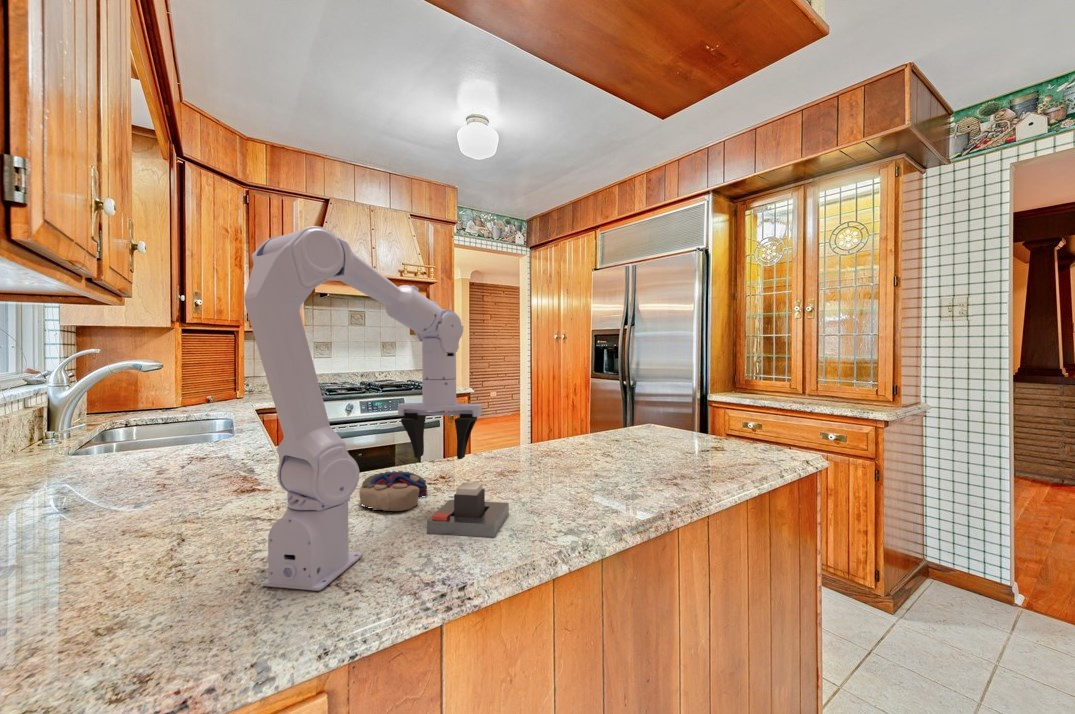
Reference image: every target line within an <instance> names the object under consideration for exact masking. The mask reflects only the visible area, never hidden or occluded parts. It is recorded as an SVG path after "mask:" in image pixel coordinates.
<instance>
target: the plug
mask: <svg viewBox="0 0 1075 714" xmlns="http://www.w3.org/2000/svg"><path fill="white" fill-rule="evenodd" d="M455 490H456V492H455V494H453V500H454V517H470V518H481V517H482V516H483V515H484V514H485V502H486V500H485V499H486V498H485V494H486V491H485V490H486V489H485V488H483V483H479V482H464V481H463V482H462V483H461V484H460V485H458V487H456V489H455Z"/></svg>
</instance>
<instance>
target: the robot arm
mask: <svg viewBox="0 0 1075 714" xmlns="http://www.w3.org/2000/svg"><path fill="white" fill-rule="evenodd" d="M251 261H252V263H253V266H252V269H251V273H250V275H249V279H248V282H247V285H246V286H247V287H246V290H245V294H244V306H245V309H246V312H247V314H248V315H247V316H248V319H249V322H250V326H251V328H252V329H251V330H252V332H253V336H254V340H255V342H256V343H255V344H256V346H257V350H258V352H259V356H260V360H261V364H262V367H263V370H264V373H265V376H266V380H267V383H268V387H269V390H270V393H271V394H270V395H271V398H272V401H273V405H274V407H275V410H276V411H275V412H276V414H277V418H278V422H279V424H280V427H281V431H282V435H283V439H282V440H281V442H280V443H279V444H278V446H277V448H276V451H277V454H278V467H277V472H276V477H277V482H278V484H279V485H280V487H281V488H282V489H283V490H284V491H286V493H287V494H286V496H287V498H286V499H287V506H286V507H287V508H286V510H285V512H284V514H283V515H282V516H281V517H280V518H279V519H278V520H277V521H276V522H275V523H274V524H273V525H272V527H271V528H270V530H269V533H268V538H267V551H268V552H267V556H268V557H267V559H268V562H267V563H268V565H267V566H268V570H267V571H268V577H267V578H266V579H264V580H263V581H262V586H263V587H269V588H271V587H273V588H285V589H294V590H306V591H315V592H316V591H318V592H319V591H322V590H323V589H324V588H325V587H327V586H328V585H329V584H330V583H332V582H333V580H335V579H336V578H337V577H338V576H340V575H341V574H343V573H344V572H345V571H346V570H347V569H348V568H349V567H351V566H352V565H353V564H354V563H356V562H357V561H358V560H359V559H361V558H362V557H363V553H362V552H359V551H349V545H350V544H349V539H350V538H349V502H350V501H351V496H352V495H353V493H354V492H355V490H356V488H357V486H358V484H359V480H360V468H359V465H358V462H357V461H356V460H355V458H354V457H352V456H351V455H350V453H349V451H348V450H347V449H348V448H347V445H346V443H345V441H344V440H343V439H342V437H341V436H340V435H338V433H337V432H336V431H335V430H334V429H333V428H332V427H331V425H330V420H329V419H328V418H329V416H328V413H327V409H326V406H325V402H324V398H323V395H322V391H321V387H320V383H319V380H318V379H319V378H318V376H317V373H316V368H315V365H314V360H313V357H312V354H311V350H310V345H309V342H308V339H307V335H306V331H305V328H304V324H303V319H302V316H301V312H300V308H301V306H302V305H303V304H304V302H305V301H307V300H306V299H307V298H308V297H309V296H310V295H311V293H312V292H313V291H314V289H315V288H317V287H318V286H321V285H322V284H324V283H325V282H327V281H329V282H333V281H336V282H337V281H338V282H341V283H343V284H345V285H347V286H349V287H352V288H353V289H355V290H357V291H359V292H360V293H362V294H364V295H366V296H368V297H369V298H371V299H373V300H376V301H378V302H379V303H381V304H383V305H384V308H385V312H386V314H387V316H388V317H390V318H391V319H393V320H395V321H397V322H398V323H400V324H402V325H404V326H405V327H407V328H408V329H410V330H411V331H413V332H414V335H415V336H416V338H417V339H418V341H419V342H421V347H422V348H421V350H422V351H421V352H422V353H421V355H422V358H421V359H422V361H421V362H422V363H421V364H422V373H421V374H422V382H421V385H422V402H402V403H399V404H397V415H398V416H403V417H402V418H401V419H400V422H401V425H402V426H403V428H404V430H405V432H406V434H407V436H408V437H409V438H408V439H409V441H410V443H411V447H412V449H413V450H412V451H413V455H414V458H417V459H418V458H421V457H422V456H424V451H425V441H424V439H425V437H424V435H425V434H424V433H425V425H426V418H427V416H445V417H447V416H449V417H450V416H453V417H454V416H455V417H457V416H458V417H457V418H454V426H455V431H456V432H455V435H456V458H457V460H462V459H464V458H465V457H466V451H467V446H468V443H469V439H470V436H471V433H472V430H473V429H474V426H475V424H476V422H477V420H478V417H481V416H483V415H482V411H483V410H482V404H481V403H463V402H462V403H461V402H457V352H458V349H460V348H459V347H460V346H459V345H460V344H459V343H460V339H461V338H462V336H463V335H464V334H463V333H464V325H462V320H461V318H460V316H459V315H458V314H457V313H456V312H455V311H454V310H452V309H449V308H448V309H444V308H443V309H442V307H440V306H439V303H438V302H436V301H434V300H430V299H429V298H428V297H426V296H424V294H422V293H420V292H419V291H420V289H419V288H418V287H417V286H415V285H408V284H402V285H400V286H397V285H396V284H395V283H393V282H392V281H391V280H389V278H387V277H386V276H385V275H383V274H382V273H381V272H379V271H378V270H377V269H376V268H374V267H373V266H371V265H370V264H369V263H368V262H367V261H365V260H363V258H361V257H360V256H359V255H357V254H356V253H355V252H354V251H352V248H351V246H350V245H349V243H348V241H346V240H344V239H342V238H339V237H337V236H336V235H335V234H334V233H333V232H331V230H329V229H327V228H325V227H322V226H318V225H312V226H306V227H305V228H303V229H301V230H298V231H294V232H290V233H287V234H283V235H277V236H273V237H269V238H268V239H266V240H265V241H264V242H263V243H262V244H261V245H260V246H259V247H258V248H256V250H255V251H254V252H252V254H251Z"/></svg>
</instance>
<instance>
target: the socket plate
mask: <svg viewBox="0 0 1075 714" xmlns="http://www.w3.org/2000/svg"><path fill="white" fill-rule="evenodd" d="M509 506H510V505H509V502H502V501H501V502H496V501H495V502H494V501H485V514H484V515H483V516H482V517H481V518H470V517H454V499H449V500H447V501H446V502H445V503H444V504H443V505H442V506H441V507H440V508H439V509H437V511H436V512H434V513H433V514H432V515H431V516H430V517H429V518H428V519H426V534H430V535H431V534H432V535H433V534H434V535H435V534H436V535H448V536H449V535H450V536H467V537H481V538H495V537H497V534H498V532H499V531H500V529H501V527H502V526H503V525H504V523H505V520H507V518H508V516H509V515H510V507H509Z"/></svg>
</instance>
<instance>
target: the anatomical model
mask: <svg viewBox="0 0 1075 714" xmlns="http://www.w3.org/2000/svg"><path fill="white" fill-rule="evenodd" d="M426 482H427V480H426V479H424V477H422V476H419V474H416V473H413V472H410V471H403V470H398V471H396V470H393V471H385V472H380V473H374V475H369V476H368V477H366V478H364V480H362V484H361V486H360V489H359V499H360V500H359V501H360V505H361V504H363V505H365V506H367V507H373V508H372V510H373V511H374V510H383V511H385V512H386V511H387V512H388V511H392V512H398V511H399V512H400V511H401V512H402V511H407V510H410V509H412V508H414V507H413V506H415V507H417V506H418V503H419V498H418V497H422V496H427V491H428V485H427V484H426ZM416 505H417V506H416Z"/></svg>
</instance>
